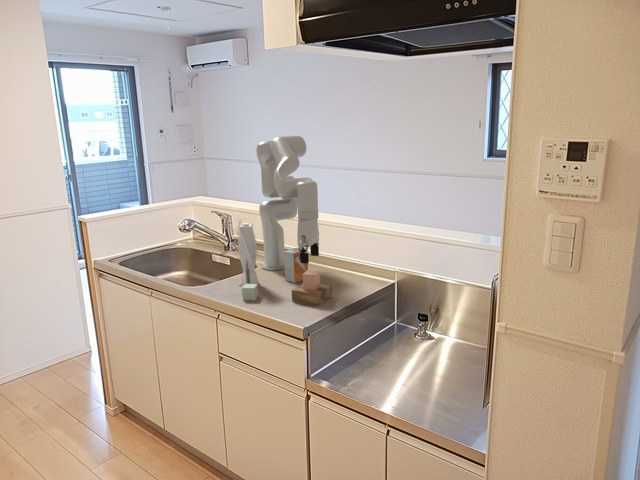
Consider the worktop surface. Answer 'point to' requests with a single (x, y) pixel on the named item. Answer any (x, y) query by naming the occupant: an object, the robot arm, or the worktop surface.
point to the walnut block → (312, 295)
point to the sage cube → (250, 291)
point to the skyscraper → (247, 253)
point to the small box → (294, 266)
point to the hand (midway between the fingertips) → (309, 259)
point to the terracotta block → (311, 280)
